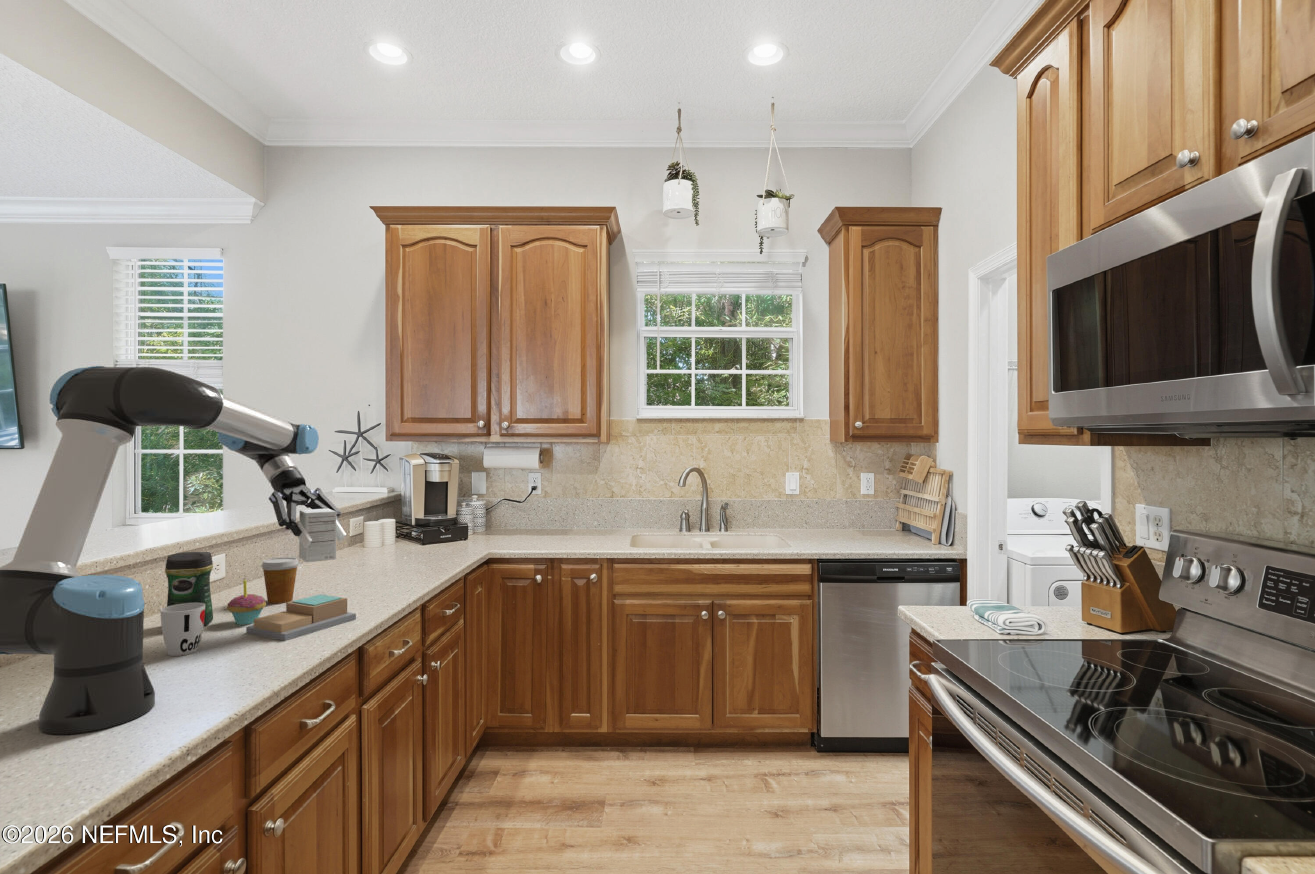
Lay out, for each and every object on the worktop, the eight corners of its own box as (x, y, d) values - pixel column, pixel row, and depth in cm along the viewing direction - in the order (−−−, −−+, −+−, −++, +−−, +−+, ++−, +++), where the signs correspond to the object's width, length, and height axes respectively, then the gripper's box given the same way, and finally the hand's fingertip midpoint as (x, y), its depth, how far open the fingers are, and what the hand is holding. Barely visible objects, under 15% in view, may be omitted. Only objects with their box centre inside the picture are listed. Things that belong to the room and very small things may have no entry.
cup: (181, 659, 140) (181, 613, 140) (150, 656, 142) (150, 610, 142) (214, 647, 148) (214, 603, 148) (184, 645, 149) (184, 601, 149)
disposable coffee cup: (266, 598, 192) (266, 557, 192) (302, 596, 195) (302, 556, 195) (256, 606, 183) (257, 563, 183) (294, 604, 186) (294, 562, 186)
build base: (285, 640, 153) (285, 616, 153) (246, 632, 159) (246, 609, 159) (355, 619, 171) (356, 597, 171) (318, 612, 177) (318, 591, 177)
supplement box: (298, 558, 169) (298, 509, 169) (329, 555, 173) (329, 507, 173) (304, 563, 163) (305, 512, 163) (336, 559, 168) (337, 510, 168)
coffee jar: (217, 620, 170) (218, 548, 170) (204, 628, 162) (204, 554, 162) (174, 622, 167) (175, 550, 167) (159, 631, 160) (159, 555, 160)
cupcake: (262, 625, 166) (262, 577, 166) (222, 628, 162) (223, 580, 162) (268, 616, 173) (268, 571, 173) (231, 619, 170) (231, 573, 170)
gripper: (314, 483, 184) (354, 544, 178) (236, 489, 164) (278, 557, 158) (327, 465, 182) (368, 526, 176) (250, 469, 162) (293, 537, 156)
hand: (326, 541), depth 167 cm, fingers closed on supplement box, 9 cm apart
